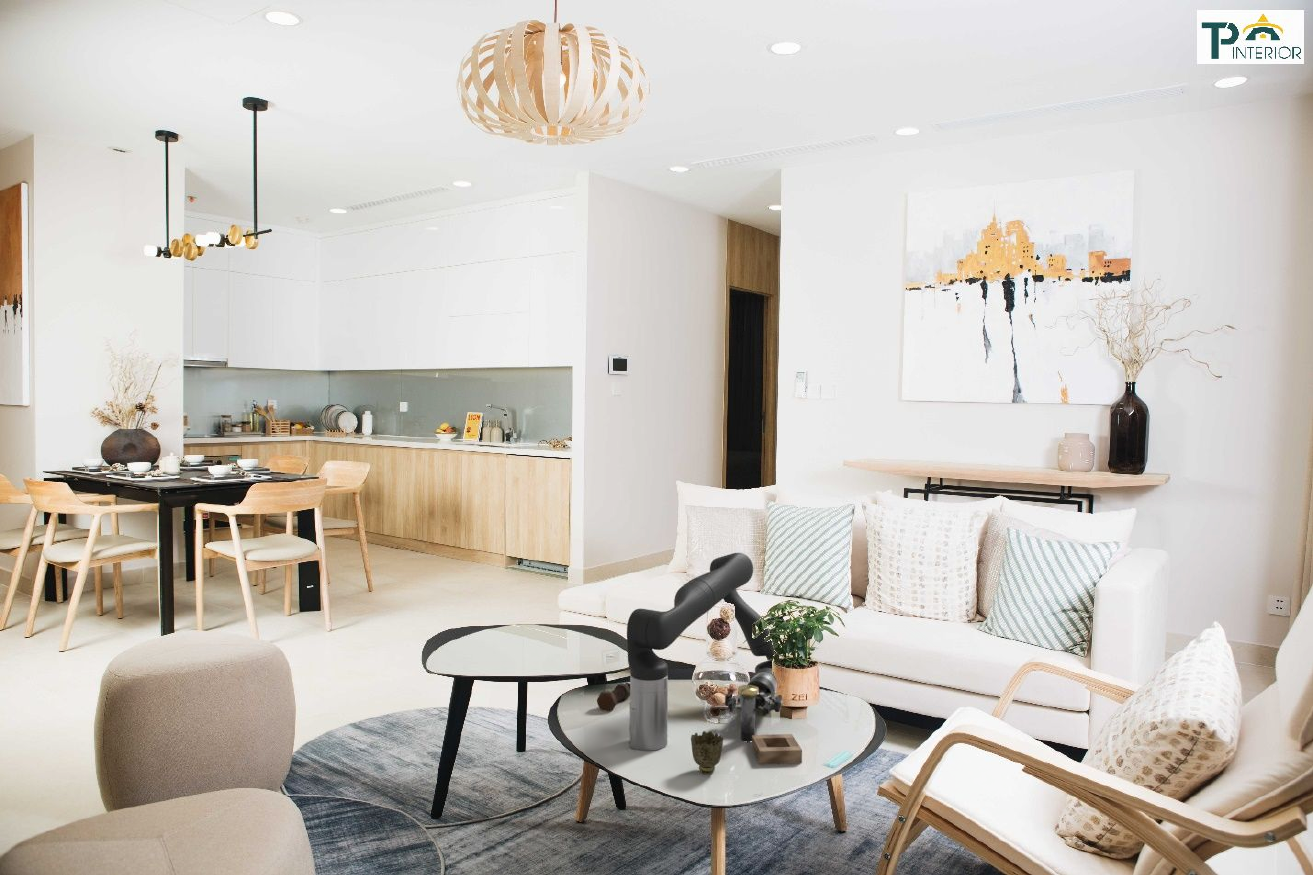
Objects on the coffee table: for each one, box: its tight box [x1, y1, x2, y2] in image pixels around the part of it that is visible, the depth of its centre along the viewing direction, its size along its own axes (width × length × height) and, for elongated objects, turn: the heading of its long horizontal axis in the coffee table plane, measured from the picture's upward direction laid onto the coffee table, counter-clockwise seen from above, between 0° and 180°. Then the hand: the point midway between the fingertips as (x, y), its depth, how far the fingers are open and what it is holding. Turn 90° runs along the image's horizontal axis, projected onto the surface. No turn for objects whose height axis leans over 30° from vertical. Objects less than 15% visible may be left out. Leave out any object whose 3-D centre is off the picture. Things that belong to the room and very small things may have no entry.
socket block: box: [751, 733, 803, 765], centre depth 212 cm, size 10×10×3 cm
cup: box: [690, 730, 724, 774], centre depth 202 cm, size 8×7×8 cm
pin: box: [737, 684, 759, 743], centre depth 221 cm, size 5×5×13 cm
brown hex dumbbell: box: [596, 682, 630, 712], centre depth 248 cm, size 6×5×15 cm
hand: (747, 710), depth 221 cm, fingers open, 8 cm apart
